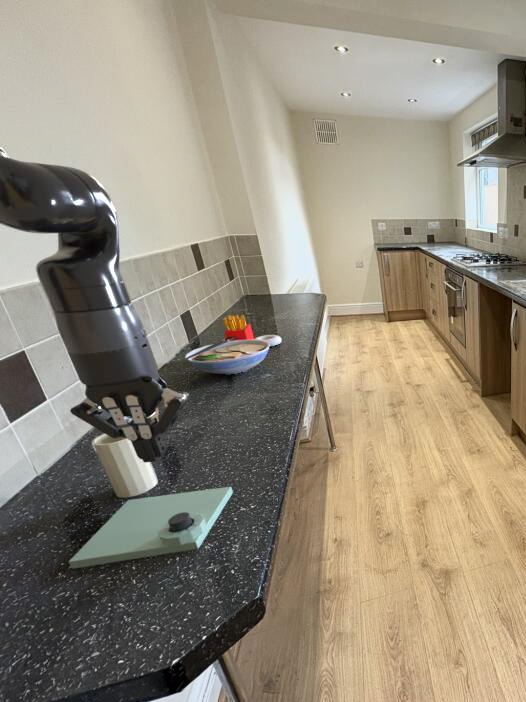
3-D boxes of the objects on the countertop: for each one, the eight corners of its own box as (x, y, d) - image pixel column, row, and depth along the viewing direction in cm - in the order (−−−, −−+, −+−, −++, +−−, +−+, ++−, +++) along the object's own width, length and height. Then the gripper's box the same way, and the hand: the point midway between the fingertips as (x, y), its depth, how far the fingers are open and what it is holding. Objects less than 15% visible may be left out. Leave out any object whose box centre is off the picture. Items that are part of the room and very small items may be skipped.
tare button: (168, 534, 61) (164, 525, 61) (176, 522, 64) (173, 513, 63) (187, 531, 62) (184, 522, 61) (195, 519, 64) (192, 510, 64)
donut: (254, 351, 152) (284, 346, 157) (251, 342, 150) (282, 338, 155) (252, 345, 159) (280, 340, 164) (249, 336, 158) (278, 332, 163)
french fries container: (230, 359, 143) (218, 320, 138) (236, 352, 151) (225, 314, 145) (253, 357, 145) (242, 318, 140) (257, 350, 153) (248, 313, 148)
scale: (70, 570, 58) (61, 554, 57) (130, 506, 71) (124, 492, 70) (199, 549, 62) (193, 534, 61) (234, 492, 75) (230, 478, 74)
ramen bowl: (245, 386, 121) (238, 360, 118) (170, 386, 121) (160, 360, 118) (290, 358, 144) (285, 336, 141) (226, 358, 144) (219, 336, 141)
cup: (108, 500, 73) (82, 447, 69) (128, 480, 78) (106, 430, 74) (147, 495, 74) (124, 442, 70) (164, 476, 80) (144, 426, 75)
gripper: (18, 355, 47) (80, 481, 53) (152, 346, 50) (195, 467, 56) (67, 337, 53) (116, 451, 60) (182, 331, 56) (217, 440, 63)
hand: (154, 458), depth 58 cm, fingers closed
